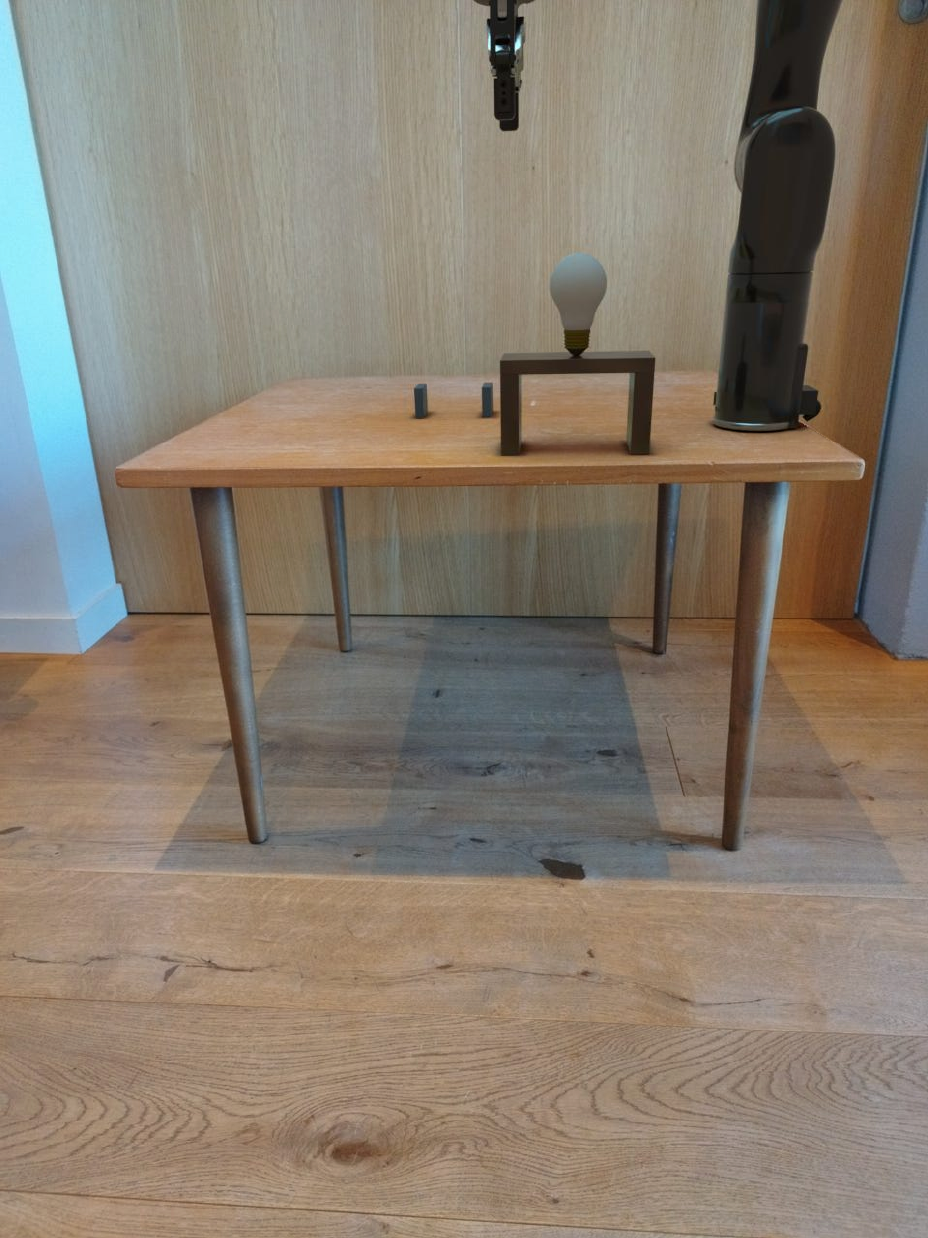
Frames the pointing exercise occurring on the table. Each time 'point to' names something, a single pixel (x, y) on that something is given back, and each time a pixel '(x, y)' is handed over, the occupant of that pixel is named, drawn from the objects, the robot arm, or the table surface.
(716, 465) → the table surface
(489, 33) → the robot arm
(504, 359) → the dark brown rectangular arch
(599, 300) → the light bulb
